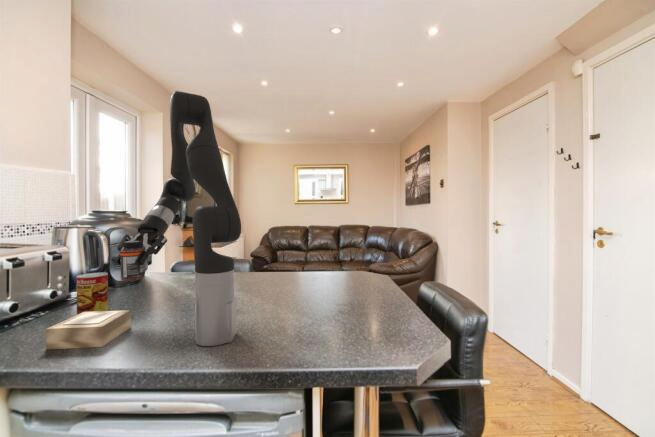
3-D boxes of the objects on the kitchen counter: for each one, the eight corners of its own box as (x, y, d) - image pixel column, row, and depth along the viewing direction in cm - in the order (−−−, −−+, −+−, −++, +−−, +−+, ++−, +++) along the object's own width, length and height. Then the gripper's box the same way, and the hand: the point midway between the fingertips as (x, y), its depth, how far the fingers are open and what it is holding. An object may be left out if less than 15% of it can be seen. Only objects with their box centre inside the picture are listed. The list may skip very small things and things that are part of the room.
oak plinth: (130, 327, 81) (130, 309, 81) (102, 346, 69) (102, 325, 69) (83, 329, 80) (83, 311, 79) (46, 349, 68) (46, 327, 68)
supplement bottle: (124, 278, 88) (123, 240, 88) (146, 276, 91) (146, 240, 90) (117, 282, 83) (117, 242, 83) (142, 280, 85) (141, 241, 85)
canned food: (70, 314, 91) (69, 276, 91) (95, 307, 99) (95, 271, 99) (89, 316, 89) (89, 277, 89) (114, 308, 97) (113, 272, 97)
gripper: (131, 214, 95) (97, 255, 83) (171, 213, 93) (142, 256, 81) (144, 229, 100) (114, 270, 89) (182, 229, 98) (156, 271, 86)
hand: (128, 263), depth 85 cm, fingers closed on supplement bottle, 6 cm apart
